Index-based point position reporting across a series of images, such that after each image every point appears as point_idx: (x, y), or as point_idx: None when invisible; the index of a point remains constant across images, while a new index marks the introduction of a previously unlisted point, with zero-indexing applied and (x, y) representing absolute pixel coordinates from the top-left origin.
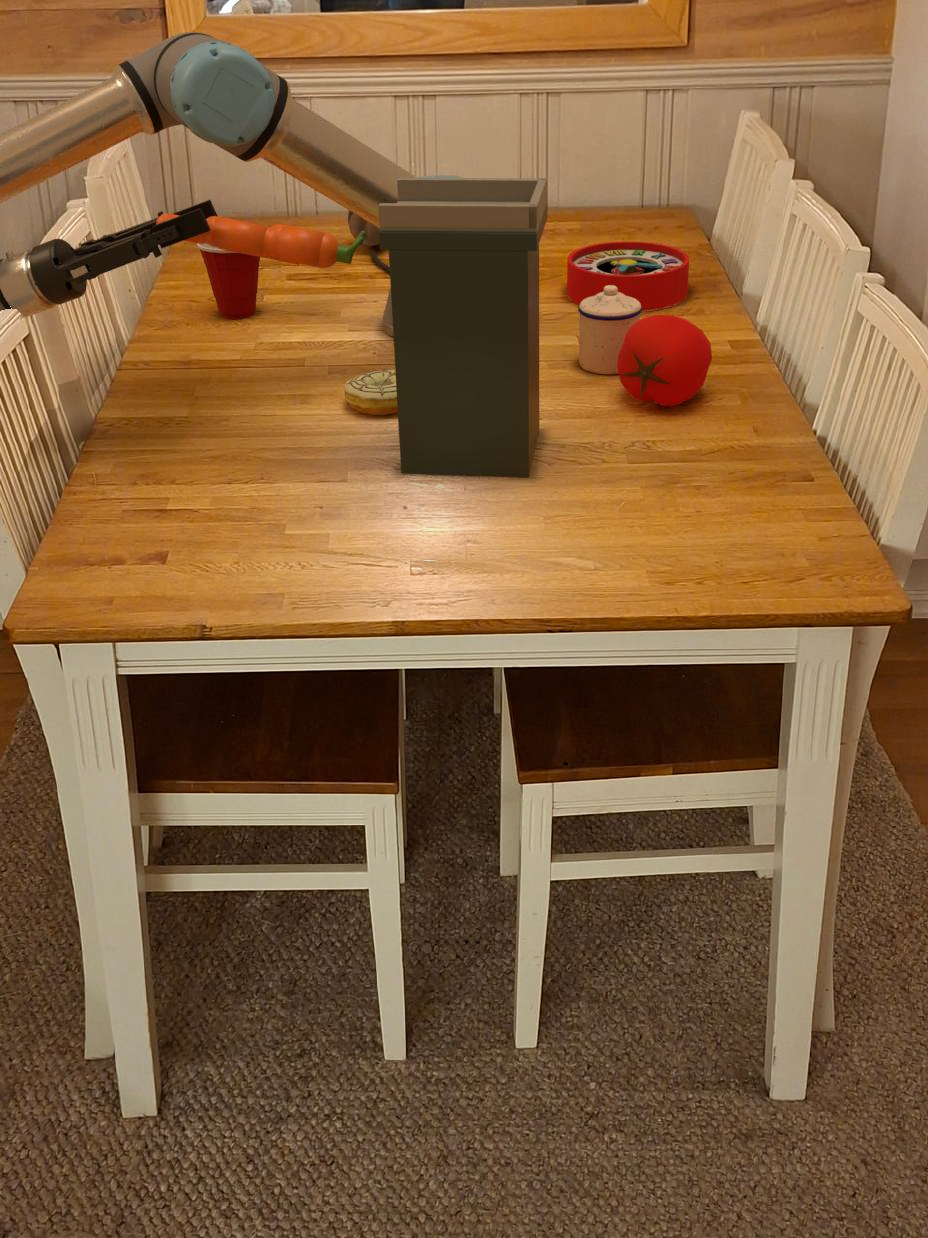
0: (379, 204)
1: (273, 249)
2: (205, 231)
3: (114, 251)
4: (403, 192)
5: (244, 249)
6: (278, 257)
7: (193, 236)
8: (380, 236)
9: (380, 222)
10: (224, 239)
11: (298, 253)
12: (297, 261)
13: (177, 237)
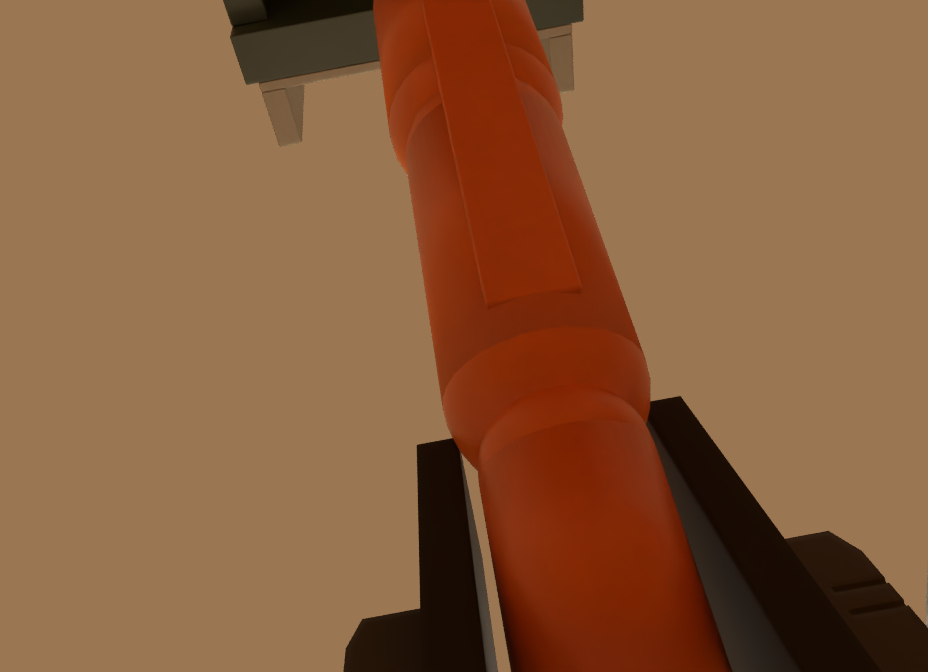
0: (287, 144)
1: (393, 131)
2: (417, 461)
3: None
4: (546, 54)
5: (425, 206)
6: (402, 75)
7: (418, 515)
8: (242, 71)
9: (266, 103)
10: (433, 331)
11: (380, 62)
12: (394, 19)
13: (355, 634)
